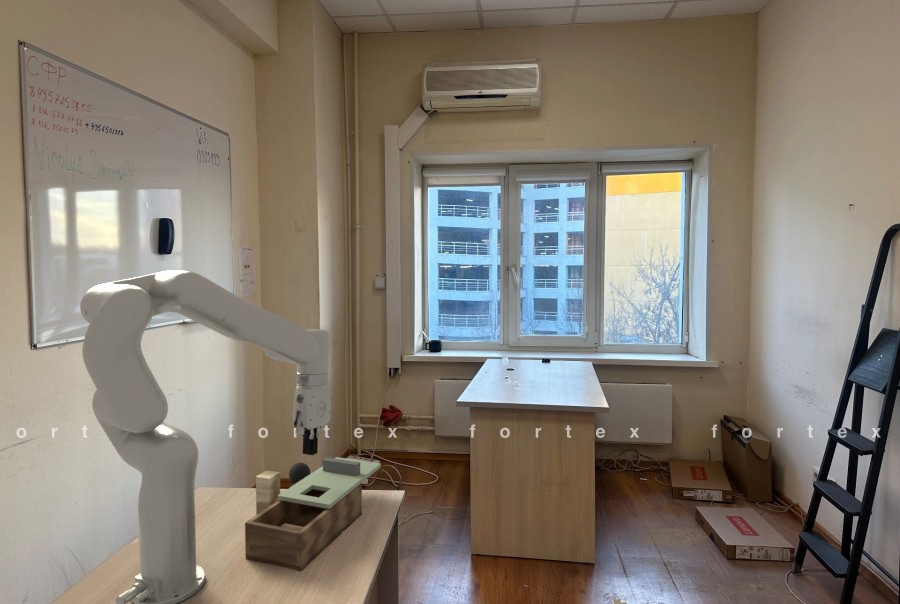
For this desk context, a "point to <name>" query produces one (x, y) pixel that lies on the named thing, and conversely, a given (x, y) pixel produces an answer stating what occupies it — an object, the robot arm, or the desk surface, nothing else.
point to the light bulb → (298, 472)
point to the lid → (330, 482)
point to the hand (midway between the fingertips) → (309, 453)
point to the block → (267, 489)
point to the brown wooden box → (298, 530)
